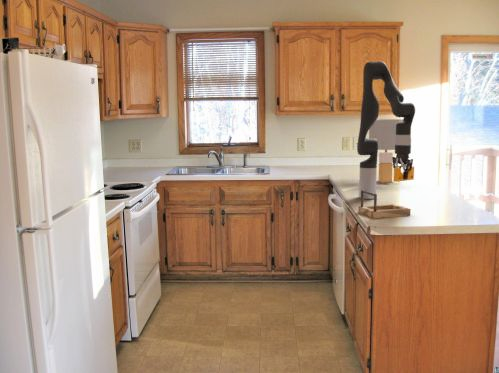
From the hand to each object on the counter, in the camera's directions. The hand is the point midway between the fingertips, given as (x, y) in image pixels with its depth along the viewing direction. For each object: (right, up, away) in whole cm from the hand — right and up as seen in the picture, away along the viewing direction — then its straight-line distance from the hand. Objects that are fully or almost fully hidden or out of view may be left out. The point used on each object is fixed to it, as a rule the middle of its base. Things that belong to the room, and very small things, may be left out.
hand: (401, 178), depth 257 cm
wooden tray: (-11, -17, -7) cm, 21 cm away
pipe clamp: (0, -1, 0) cm, 1 cm away
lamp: (+16, -1, +95) cm, 96 cm away
